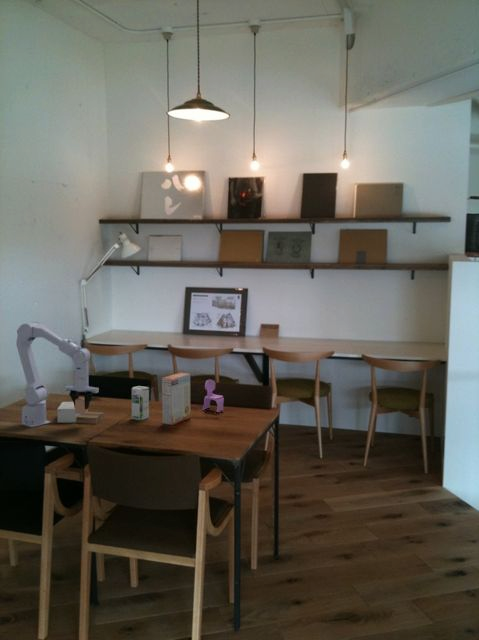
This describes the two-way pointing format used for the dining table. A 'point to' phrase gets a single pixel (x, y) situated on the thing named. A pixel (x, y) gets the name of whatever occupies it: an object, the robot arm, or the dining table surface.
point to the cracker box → (175, 398)
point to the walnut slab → (90, 417)
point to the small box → (66, 413)
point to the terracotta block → (80, 406)
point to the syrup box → (140, 403)
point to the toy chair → (212, 396)
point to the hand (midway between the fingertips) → (81, 408)
